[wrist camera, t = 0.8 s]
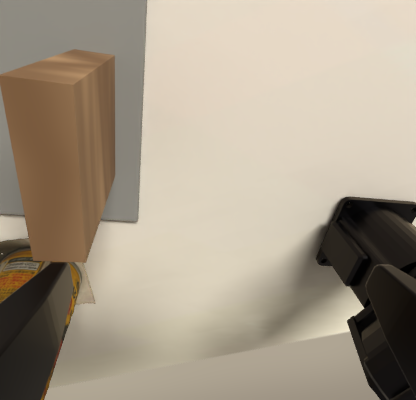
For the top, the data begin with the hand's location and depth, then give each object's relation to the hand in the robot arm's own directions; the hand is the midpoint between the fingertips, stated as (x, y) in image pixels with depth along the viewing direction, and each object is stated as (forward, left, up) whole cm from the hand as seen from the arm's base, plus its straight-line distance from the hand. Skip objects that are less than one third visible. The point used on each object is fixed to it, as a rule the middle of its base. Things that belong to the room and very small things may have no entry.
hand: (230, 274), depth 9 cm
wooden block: (+6, -1, -12) cm, 13 cm away
